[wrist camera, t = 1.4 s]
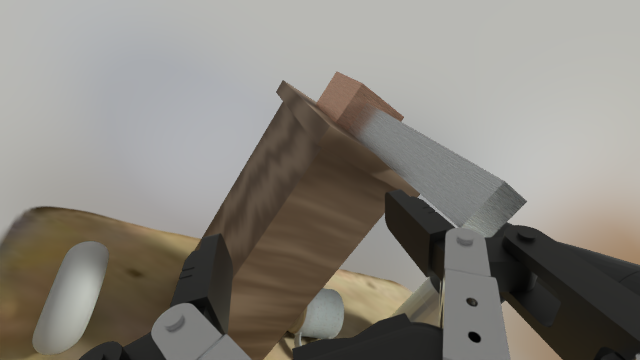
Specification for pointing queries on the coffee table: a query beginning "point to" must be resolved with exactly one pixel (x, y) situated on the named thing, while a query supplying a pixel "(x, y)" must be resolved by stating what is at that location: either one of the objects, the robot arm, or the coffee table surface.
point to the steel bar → (421, 159)
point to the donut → (71, 298)
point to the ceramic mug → (320, 317)
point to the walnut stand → (296, 217)
